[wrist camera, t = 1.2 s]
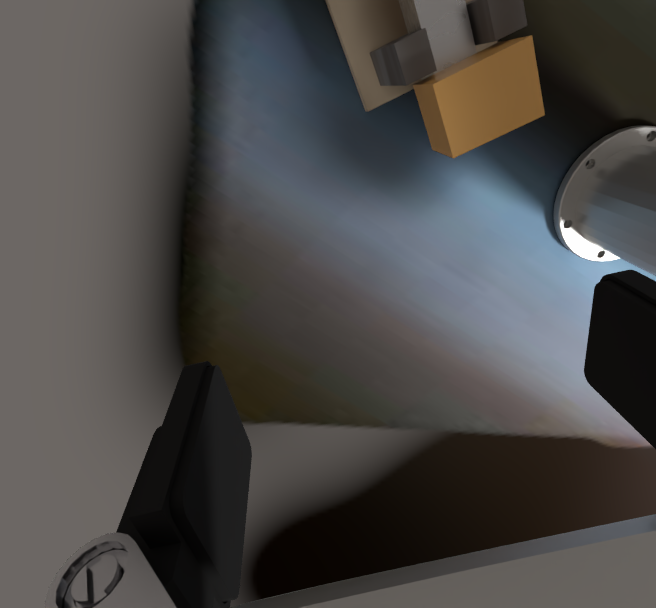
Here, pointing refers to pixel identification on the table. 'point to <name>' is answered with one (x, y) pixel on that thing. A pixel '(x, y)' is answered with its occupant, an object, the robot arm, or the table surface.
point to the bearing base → (367, 36)
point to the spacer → (481, 97)
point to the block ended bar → (441, 29)
